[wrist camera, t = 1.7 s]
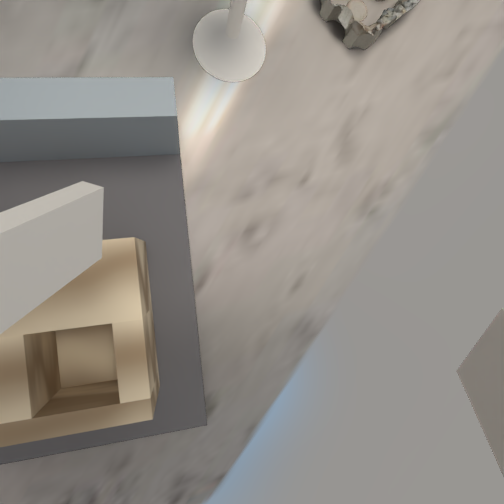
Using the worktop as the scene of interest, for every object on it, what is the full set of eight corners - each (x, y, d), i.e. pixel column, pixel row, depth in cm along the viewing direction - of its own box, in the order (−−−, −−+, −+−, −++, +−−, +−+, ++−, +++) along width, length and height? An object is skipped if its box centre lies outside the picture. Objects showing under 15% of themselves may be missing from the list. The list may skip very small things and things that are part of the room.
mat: (206, 419, 30) (207, 425, 29) (3, 457, 27) (-4, 465, 26) (177, 124, 30) (176, 120, 29) (-30, 130, 27) (-38, 125, 26)
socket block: (159, 385, 28) (152, 419, 22) (41, 405, 27) (-1, 447, 21) (145, 241, 28) (134, 237, 22) (25, 252, 27) (-21, 250, 21)
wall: (179, 154, 29) (177, 115, 21) (-34, 163, 26) (-130, 123, 18) (177, 125, 29) (173, 77, 21) (-37, 132, 26) (-135, 78, 18)
